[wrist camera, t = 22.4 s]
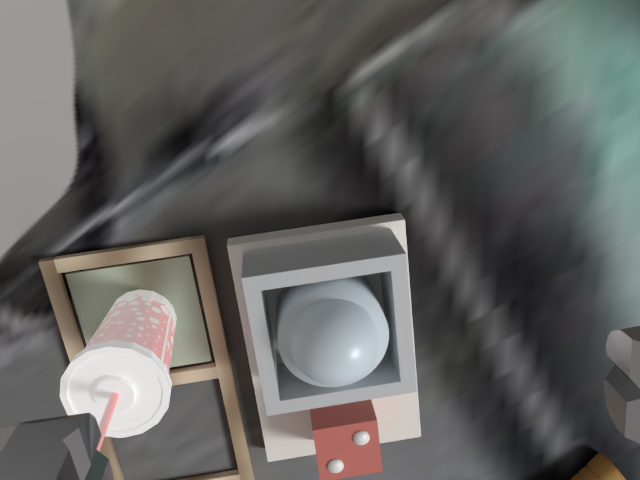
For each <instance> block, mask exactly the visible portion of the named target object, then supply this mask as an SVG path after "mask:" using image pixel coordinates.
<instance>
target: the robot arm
mask: <svg viewBox="0 0 640 480" xmlns="http://www.w3.org/2000/svg"><path fill="white" fill-rule="evenodd" d="M606 355H607V356H608V358H609V359H610V360H611V361H612V362H613V364H614V366H613V367H612V369H611V370H610V371H609V373H608V374H607V375H606V377H605V378H604V398H605V402H606V405H607V409H608V413H609V415H610V417H611V419H612V420H613V422H614V424H615V426H616V427H617V428H618V429H619V431H620V432H621V433H622V434H623V435H624V437H626V438H629V439H631V440H633V441H635V442H637V443H640V326H636V327H630V328H625V329H619V330H613V331H611V332H610V334H609V336H608V339H607V344H606ZM101 436H102V435H101V432H100V429H99V426H98V423H97V420H96V417H94V416H93V415H92V414H90V413H83V414H76V415H69V416H61V417H54V418H47V419H40V420H32V421H25V422H17V423H11V424H5V425H0V480H114V477H113V471H112V468H111V464H110V461H109V458H107V457H106V456H105V455H103V454H102V453H100V452H99V451H98V450H97V447H98V444H99V441H100V438H101Z"/></svg>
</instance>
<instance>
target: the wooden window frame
mask: <svg viewBox="0 0 640 480" xmlns="http://www.w3.org/2000/svg"><path fill="white" fill-rule="evenodd" d="M185 254H192V256H193V261H194V266H195V270H196V275H197V279H198V284H199V289H200V293H201V298H202V303H203V307H204V312H205V317H206V321H207V326H208V331H209V335H210V340H211V345H212V349H213V354H214V359H215V363H209V364H202V365H196V366H190V367H183V368H177V369H171V370H169V376H170V379H171V381H172V386H173V385H179V384H185V383H192V382H198V381H204V380H211V379H217V378H219V382H220V386H221V391H222V396H223V400H224V405H225V410H226V414H227V419H228V424H229V428H230V433H231V438H232V442H233V447H234V452H235V456H236V461H237V466H238V469H237V470H231V471H225V472H219V473H212V474H206V475H200V476H194V477H188V478H182V479H176V480H255V479H254V474H253V469H252V464H251V459H250V455H249V450H248V445H247V440H246V435H245V430H244V425H243V420H242V415H241V410H240V406H239V401H238V396H237V391H236V386H235V381H234V376H233V371H232V366H231V361H230V357H229V352H228V347H227V342H226V337H225V332H224V327H223V322H222V317H221V312H220V308H219V303H218V298H217V293H216V288H215V283H214V278H213V273H212V268H211V264H210V259H209V254H208V249H207V244H206V239H205V235H199V236H192V237H185V238H178V239H171V240H165V241H158V242H151V243H144V244H137V245H131V246H124V247H117V248H110V249H103V250H97V251H90V252H83V253H76V254H69V255H63V256H56V257H49V258H42V259H41V260H40V261H39V262H38V263H39V266H40V269H41V272H42V275H43V279H44V282H45V285H46V288H47V291H48V294H49V297H50V301H51V304H52V307H53V310H54V313H55V316H56V320H57V323H58V326H59V329H60V332H61V335H62V339H63V342H64V345H65V348H66V351H67V354H68V357H69V361H70V362H71V361H72V360H73V358H74V356H75V355H76V354H78V353H79V352H81V351H82V350H84V346H83V343H82V339H81V336H80V333H79V329H78V326H77V323H76V319H75V316H74V313H73V310H72V306H71V303H70V300H69V296H68V293H67V290H66V287H65V283H64V280H63V277H62V273H64V272H71V271H78V270H84V269H91V268H98V267H105V266H111V265H118V264H125V263H132V262H138V261H145V260H152V259H158V258H165V257H172V256H179V255H185ZM65 275H66V279H67V282H68V285H69V289H70V292H71V295H72V299H73V302H74V305H75V309H76V312H77V315H78V318H79V322H80V325H81V328H82V332H83V335H84V338H85V342H86V345H87V344H88V343H89V341H90V340H91V338H92V337H93V335H94V334H95V332H96V330H97V329H98V327H99V326H100V324H101V323H102V321H103V320H104V318H105V317H106V315H107V314H108V312H109V311H110V309H111V308H112V306H113V305H114V303H115V301H116V300H117V299H118V298H119V297H121V296H122V295H124V294H125V293H127V292H130V291H135V290H139V289H141V290H149V291H154V292H156V293H158V294H160V295H162V296H164V297H165V298H166V299H167V300H168V301H169V302H170V303H171V305H172V306H173V308H174V311H175V314H176V317H177V318H176V326H175V333H174V341H173V348H172V356H171V363H170V367H176V366H182V365H189V364H195V363H201V362H208V361H212V357H211V353H210V348H209V343H208V339H207V334H206V330H205V325H204V320H203V316H202V311H201V307H200V302H199V297H198V293H197V288H196V283H195V279H194V274H193V270H192V265H191V260H190V256H189V255H186V256H179V257H172V258H165V259H159V260H152V261H145V262H139V263H132V264H125V265H118V266H112V267H105V268H98V269H91V270H85V271H78V272H71V273H66V274H65ZM99 452H100V453H102V454H103V455H105V456H106V457H107V458H109V461H110V464H111V468H112V471H113V477H114V480H124V478H123V474H122V471H121V468H120V464H119V461H118V458H117V454H116V451H115V448H114V445H113V441H112V438H111V437H106V436H105V437H104V440H103V443H102V445H101V448H100V451H99Z"/></svg>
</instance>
